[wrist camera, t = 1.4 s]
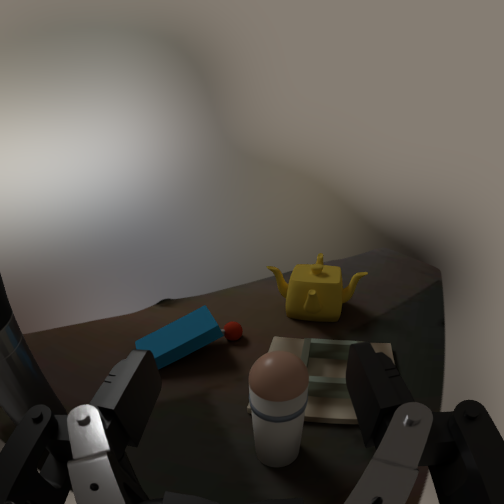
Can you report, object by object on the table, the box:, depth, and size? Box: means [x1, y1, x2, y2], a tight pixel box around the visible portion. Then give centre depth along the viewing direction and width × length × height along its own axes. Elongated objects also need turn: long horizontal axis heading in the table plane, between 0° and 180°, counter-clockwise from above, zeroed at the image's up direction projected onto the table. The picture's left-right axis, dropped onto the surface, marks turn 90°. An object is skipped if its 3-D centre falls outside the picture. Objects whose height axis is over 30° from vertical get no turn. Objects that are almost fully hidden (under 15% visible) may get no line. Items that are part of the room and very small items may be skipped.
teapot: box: [267, 253, 368, 322], centre depth 54 cm, size 15×14×10 cm
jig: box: [247, 337, 395, 424], centre depth 35 cm, size 20×16×4 cm
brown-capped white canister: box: [249, 351, 309, 467], centre depth 23 cm, size 5×5×16 cm
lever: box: [135, 305, 243, 370], centre depth 45 cm, size 7×7×18 cm
